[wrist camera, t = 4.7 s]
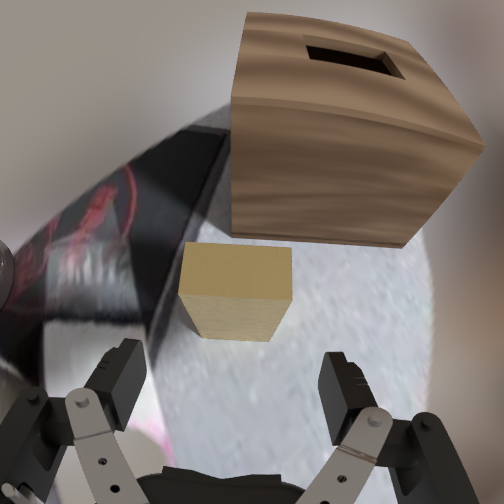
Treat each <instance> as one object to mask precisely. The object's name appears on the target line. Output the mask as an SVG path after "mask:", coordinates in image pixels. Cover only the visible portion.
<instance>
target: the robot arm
mask: <svg viewBox="0 0 504 504" xmlns="http://www.w3.org/2000/svg"><path fill="white" fill-rule="evenodd" d="M13 276H14V261H13V256H12V253H11V251H10V250H9V248H8V247H7V246H6V245H5V244H4V243H3V242H2V241H1V240H0V309H1V308H2V307H3V305H4V303H5V301H6V300H7V298H8V295H9V292H10V290H11V286H12V282H13ZM146 372H147V369H146V362H145V356H144V349H143V343H142V341H141V340H135V339H128V338H125V339H124V340H123V341H122V343H121V345H120V346H119V348H115V347H113V348H112V349H110V350H109V351H107V352H106V353H105V354H104V356H103V357H102V359H101V362H99V364H98V365H97V368H95V370H94V371H93V373H92V375H91V376H90V378H89V379H88V381H87V383H86V384H85V386H84V387H83V388H78V389H75V390H73V391H71V392H70V393H69V394H68V395H67V396H66V398H58V397H48V394H47V392H46V391H45V390H44V389H43V388H40V387H30V388H27V389H25V390H24V391H23V392H22V393H21V394H20V395H19V397H18V398H17V400H16V401H15V403H14V404H13V406H12V407H11V409H10V410H9V412H8V413H7V415H6V417H5V418H4V420H3V421H2V423H1V424H0V504H45V503H46V500H47V497H48V494H49V492H50V489H51V486H52V484H53V481H54V478H55V476H56V473H57V471H58V468H59V465H60V463H61V461H62V458H63V456H64V454H65V451H66V449H67V446H75V448H76V451H77V454H78V457H79V460H80V463H81V466H82V469H83V471H84V474H85V476H86V479H87V482H88V484H89V487H90V489H91V491H92V494H93V496H94V499H95V501H96V503H95V504H354V502H355V501H356V499H357V497H358V496H359V494H360V492H361V490H362V488H363V487H364V485H365V483H366V481H367V479H368V477H369V476H370V474H371V472H372V470H373V468H374V466H380V467H388V469H389V472H390V476H391V480H392V483H393V487H394V490H395V494H396V498H397V502H398V504H479V502H478V499H477V497H476V494H475V492H474V489H473V487H472V485H471V483H470V480H469V478H468V476H467V473H466V471H465V469H464V467H463V465H462V462H461V460H460V458H459V456H458V454H457V452H456V450H455V448H454V446H453V443H452V441H451V440H450V437H449V436H448V433H447V431H446V429H445V428H444V426H443V424H442V422H441V420H440V419H439V418H438V417H437V416H436V415H434V414H432V413H428V412H421V413H418V414H416V415H415V416H414V417H413V419H412V421H407V420H397V419H393V418H392V416H391V415H390V413H389V412H387V411H386V410H384V409H382V408H379V407H378V405H377V403H376V401H375V398H374V396H373V394H372V392H371V390H370V387H369V385H368V383H367V381H366V379H365V377H364V374H363V372H362V370H361V369H360V368H359V367H358V366H357V365H356V364H355V363H354V362H347V360H346V357H345V355H344V353H343V352H326V353H325V355H324V358H323V362H322V367H321V371H320V375H319V379H318V390H319V394H320V398H321V402H322V406H323V410H324V414H325V418H326V422H327V425H328V429H329V433H330V437H331V441H332V445H333V446H337V445H338V447H337V448H336V449H335V451H334V452H333V454H332V455H331V457H330V458H329V460H328V461H327V462H326V464H325V465H324V467H323V468H322V469H321V471H320V472H319V474H318V475H317V476H316V478H315V479H314V480H313V482H312V483H311V484H310V486H309V487H308V488H307V490H304V489H302V488H300V487H298V486H296V485H293V484H290V483H286V482H281V474H275V475H256V474H251V475H246V476H239V477H233V478H226V479H219V478H215V477H212V476H209V475H205V474H202V473H199V472H196V471H193V470H187V469H180V468H173V467H167V466H163V470H162V473H156V474H150V475H146V476H142V477H140V478H137V479H135V477H134V475H133V473H132V471H131V469H130V467H129V465H128V464H127V462H126V460H125V458H124V456H123V454H122V452H121V449H120V447H119V445H118V443H117V441H116V439H115V437H114V432H115V430H118V431H122V432H124V431H125V428H126V426H127V423H128V421H129V418H130V416H131V413H132V411H133V408H134V406H135V403H136V401H137V398H138V396H139V393H140V391H141V389H142V386H143V384H144V381H145V379H146Z"/></svg>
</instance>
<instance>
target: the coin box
mask: <svg viewBox="0 0 504 504" xmlns="http://www.w3.org/2000/svg"><path fill="white" fill-rule="evenodd" d="M485 147H486V145H485V144H484V142H483V140H482V139H481V137H480V135H479V134H478V132H477V130H476V129H475V127H474V126H473V124H472V123H471V121H470V119H469V118H468V116H467V115H466V113H465V112H464V110H463V109H462V108H461V106H460V105H459V103H458V102H457V101H456V99H455V98H454V96H453V95H452V94H451V92H450V91H449V90H448V88H447V87H446V86H445V84H444V83H443V82H442V81H441V79H440V78H439V77H438V75H437V74H436V73H435V72H434V71H433V69H432V68H431V67H430V66H429V65H428V64H427V62H426V61H425V60H424V59H423V58H422V57H421V56H420V54H419V53H418V52H417V51H416V50H415V49H414V48H413V47H412V46H411V44H410V43H409V42H407V41H404V40H401V39H398V38H395V37H392V36H389V35H385V34H381V33H378V32H375V31H371V30H367V29H363V28H359V27H355V26H351V25H346V24H341V23H337V22H331V21H325V20H320V19H314V18H308V17H301V16H293V15H284V14H272V13H259V12H247V15H246V19H245V24H244V29H243V34H242V39H241V44H240V50H239V54H238V60H237V65H236V71H235V76H234V81H233V87H232V93H231V226H232V238H245V239H262V240H279V241H296V242H312V243H328V244H343V245H358V246H372V247H387V248H400V249H402V248H403V247H404V246H405V245H406V244H407V243H408V242H409V240H410V239H411V238H412V237H413V236H414V235H415V234H416V233H417V232H418V231H419V229H420V228H421V227H422V226H423V225H424V224H425V223H426V221H427V220H428V219H429V218H430V217H431V216H432V215H433V213H434V212H435V211H436V210H437V209H438V208H439V206H440V205H441V204H442V203H443V202H444V200H445V199H446V198H447V197H448V195H449V194H450V193H451V192H452V191H453V189H454V188H455V187H456V186H457V184H458V183H459V182H460V181H461V179H462V178H463V177H464V175H465V174H466V173H467V172H468V170H469V169H470V168H471V166H472V165H473V164H474V162H475V161H476V160H477V158H478V157H479V156H480V154H481V153H482V152H483V150H484V149H485Z"/></svg>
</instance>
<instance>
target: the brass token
mask: <svg viewBox="0 0 504 504" xmlns="http://www.w3.org/2000/svg"><path fill="white" fill-rule="evenodd" d="M178 295H179V297H180V298H181V300H182V302H183V304H184V306H185V308H186V310H187V312H188V313H189V315H190V317H191V319H192V321H193V323H194V324H195V326H196V328H197V330H198V331H199V333H200V335H201V337H202V338H208V339H222V340H239V341H261V342H269V341H270V339H271V338H272V336H273V334H274V332H275V331H276V329H277V327H278V325H279V324H280V322H281V320H282V318H283V316H284V315H285V313H286V311H287V309H288V307H289V306H290V304H291V302H292V251H291V248H288V247H271V246H253V245H235V244H216V243H198V242H186V243H185V249H184V255H183V262H182V269H181V276H180V283H179V291H178Z"/></svg>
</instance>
